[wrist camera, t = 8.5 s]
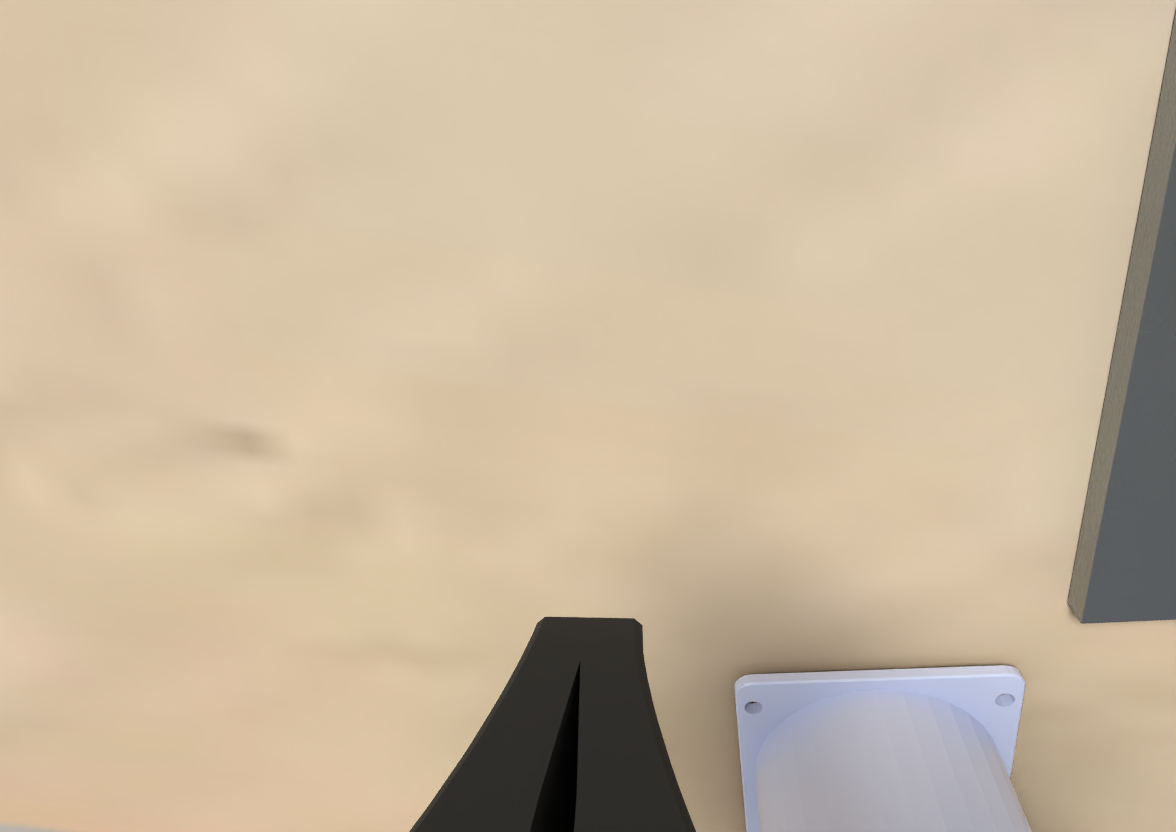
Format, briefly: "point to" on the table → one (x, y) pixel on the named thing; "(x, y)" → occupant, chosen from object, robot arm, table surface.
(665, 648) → the table surface
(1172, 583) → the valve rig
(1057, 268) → the table surface
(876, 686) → the robot arm
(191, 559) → the table surface
